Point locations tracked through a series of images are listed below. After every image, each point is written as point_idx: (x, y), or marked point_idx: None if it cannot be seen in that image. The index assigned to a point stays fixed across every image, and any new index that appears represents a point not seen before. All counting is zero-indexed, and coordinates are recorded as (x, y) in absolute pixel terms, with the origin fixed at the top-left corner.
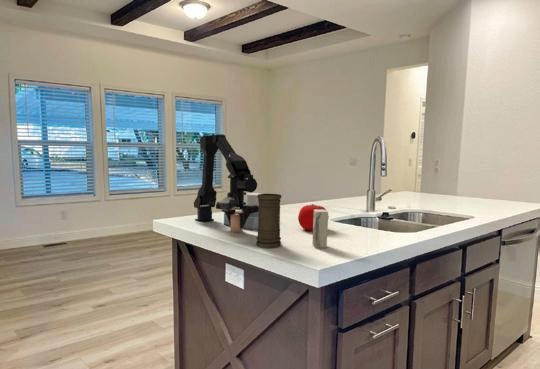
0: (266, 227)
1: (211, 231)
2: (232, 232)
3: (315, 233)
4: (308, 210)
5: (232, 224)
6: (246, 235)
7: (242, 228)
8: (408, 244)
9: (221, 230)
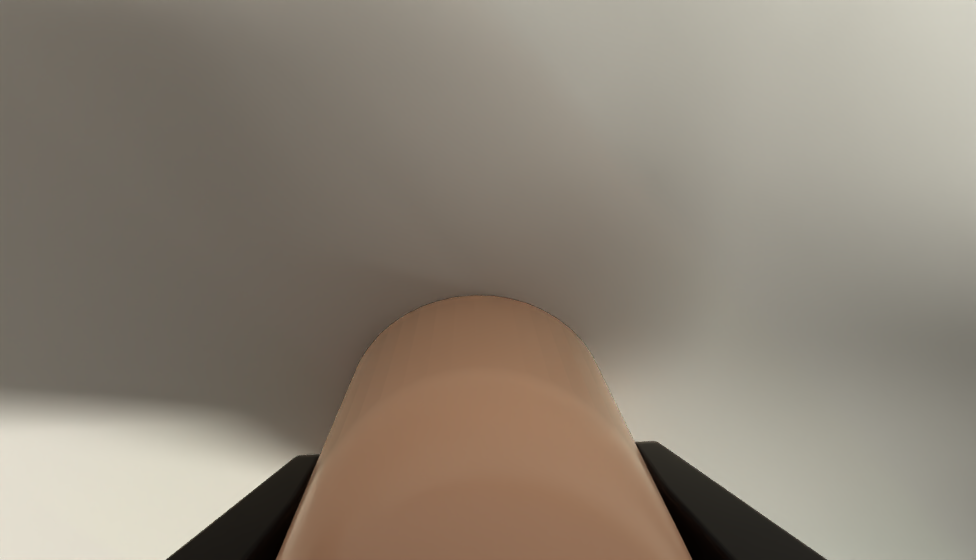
0: None
1: (968, 41)
2: (476, 296)
3: None
4: None
5: (482, 395)
6: (39, 295)
7: None
8: None
9: (810, 285)
